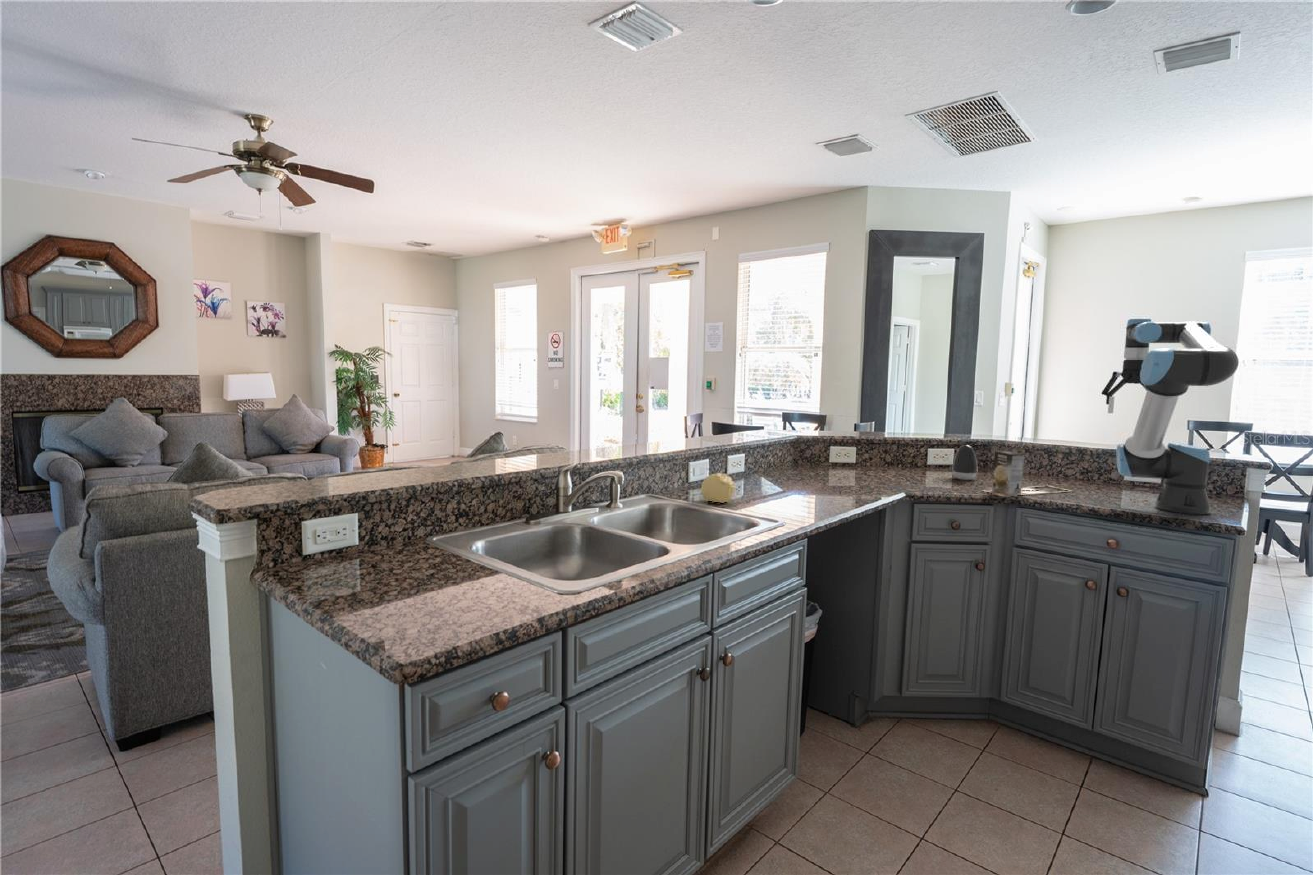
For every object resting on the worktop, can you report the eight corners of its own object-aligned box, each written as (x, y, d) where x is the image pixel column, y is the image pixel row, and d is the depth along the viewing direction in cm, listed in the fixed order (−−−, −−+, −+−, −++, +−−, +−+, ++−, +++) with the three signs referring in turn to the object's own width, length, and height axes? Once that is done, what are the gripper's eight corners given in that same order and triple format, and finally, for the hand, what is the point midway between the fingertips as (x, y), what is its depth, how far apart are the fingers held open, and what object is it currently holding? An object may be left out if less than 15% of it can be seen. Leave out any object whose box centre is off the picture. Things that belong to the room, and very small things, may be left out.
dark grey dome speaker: (972, 477, 292) (975, 443, 290) (980, 481, 282) (982, 446, 280) (948, 476, 294) (950, 443, 292) (954, 480, 284) (957, 446, 282)
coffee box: (990, 490, 261) (993, 450, 259) (1004, 490, 263) (1007, 450, 261) (1008, 495, 252) (1011, 454, 250) (1022, 494, 254) (1025, 453, 252)
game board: (1073, 492, 262) (1073, 490, 262) (1005, 497, 250) (1005, 495, 250) (1047, 486, 273) (1047, 485, 272) (981, 491, 261) (981, 490, 261)
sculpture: (733, 506, 230) (733, 476, 229) (699, 504, 232) (699, 474, 231) (735, 499, 241) (736, 470, 240) (702, 498, 243) (703, 469, 242)
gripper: (1178, 359, 243) (1172, 416, 245) (1103, 359, 263) (1098, 411, 266) (1171, 359, 238) (1164, 417, 241) (1095, 358, 259) (1090, 412, 261)
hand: (1130, 414), depth 253 cm, fingers open, 13 cm apart
